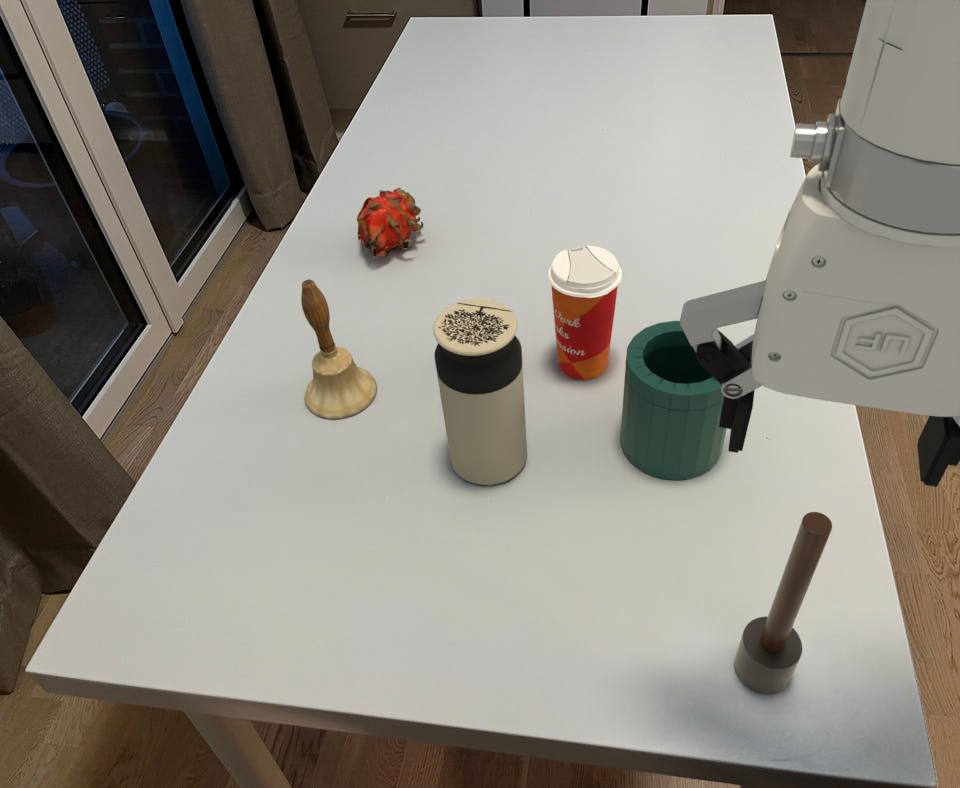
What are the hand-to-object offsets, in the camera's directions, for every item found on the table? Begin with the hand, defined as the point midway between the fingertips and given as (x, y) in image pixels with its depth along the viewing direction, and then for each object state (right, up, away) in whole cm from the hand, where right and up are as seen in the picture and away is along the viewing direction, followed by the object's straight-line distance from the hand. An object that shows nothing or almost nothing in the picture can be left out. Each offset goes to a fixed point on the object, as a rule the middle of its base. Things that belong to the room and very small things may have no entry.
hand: (828, 449), depth 43 cm
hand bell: (-35, +3, +48) cm, 59 cm away
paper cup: (-7, +6, +49) cm, 49 cm away
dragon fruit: (-31, +24, +68) cm, 79 cm away
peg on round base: (+4, -19, +21) cm, 29 cm away
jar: (+1, -2, +39) cm, 39 cm away
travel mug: (-18, -4, +40) cm, 44 cm away
